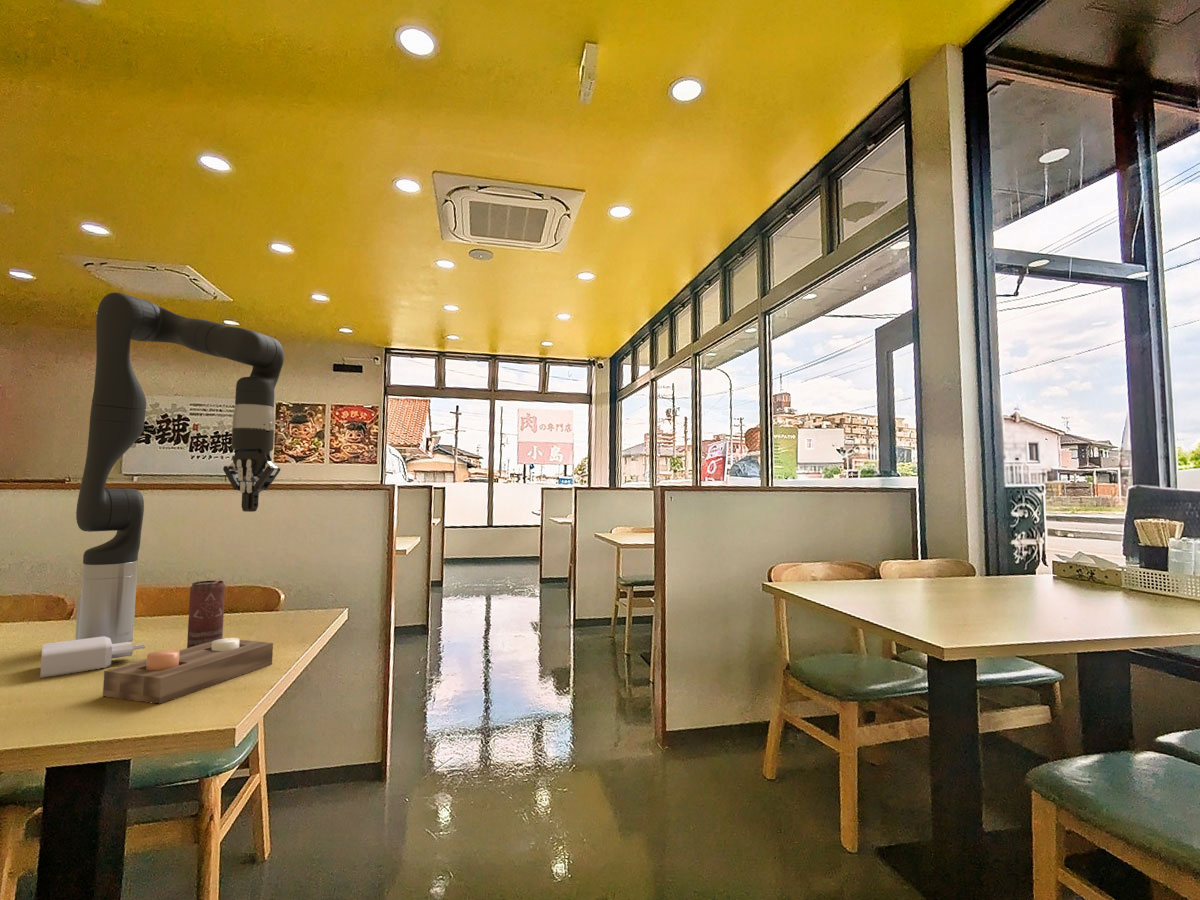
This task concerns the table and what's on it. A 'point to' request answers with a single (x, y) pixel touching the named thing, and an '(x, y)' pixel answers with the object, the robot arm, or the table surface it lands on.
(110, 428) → the robot arm
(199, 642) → the can
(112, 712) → the table surface
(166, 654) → the terracotta button
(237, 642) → the offwhite button
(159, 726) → the table surface
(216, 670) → the button panel
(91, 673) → the table surface
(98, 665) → the charger
